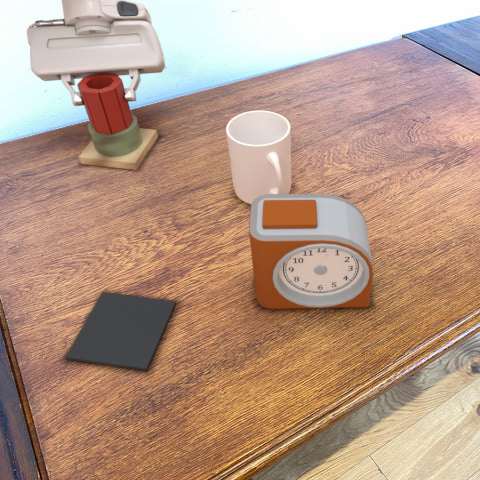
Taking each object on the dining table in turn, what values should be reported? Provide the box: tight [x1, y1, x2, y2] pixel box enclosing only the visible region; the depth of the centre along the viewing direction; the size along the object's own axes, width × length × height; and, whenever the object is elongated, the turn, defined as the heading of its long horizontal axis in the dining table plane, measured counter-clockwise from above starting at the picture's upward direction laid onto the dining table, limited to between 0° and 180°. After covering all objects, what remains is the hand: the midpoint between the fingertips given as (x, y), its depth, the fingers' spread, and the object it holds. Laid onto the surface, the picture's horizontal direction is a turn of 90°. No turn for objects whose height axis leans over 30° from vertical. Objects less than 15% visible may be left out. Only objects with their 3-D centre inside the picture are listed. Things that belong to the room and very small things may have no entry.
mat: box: [65, 291, 177, 372], centre depth 64 cm, size 10×10×1 cm
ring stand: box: [78, 112, 159, 171], centre depth 86 cm, size 10×10×11 cm
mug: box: [225, 110, 293, 205], centre depth 79 cm, size 9×12×12 cm
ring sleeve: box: [76, 72, 133, 134], centre depth 84 cm, size 6×6×8 cm
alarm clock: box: [248, 193, 374, 310], centre depth 65 cm, size 15×8×14 cm, turn 92°
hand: (105, 102), depth 83 cm, fingers closed on ring sleeve, 7 cm apart
